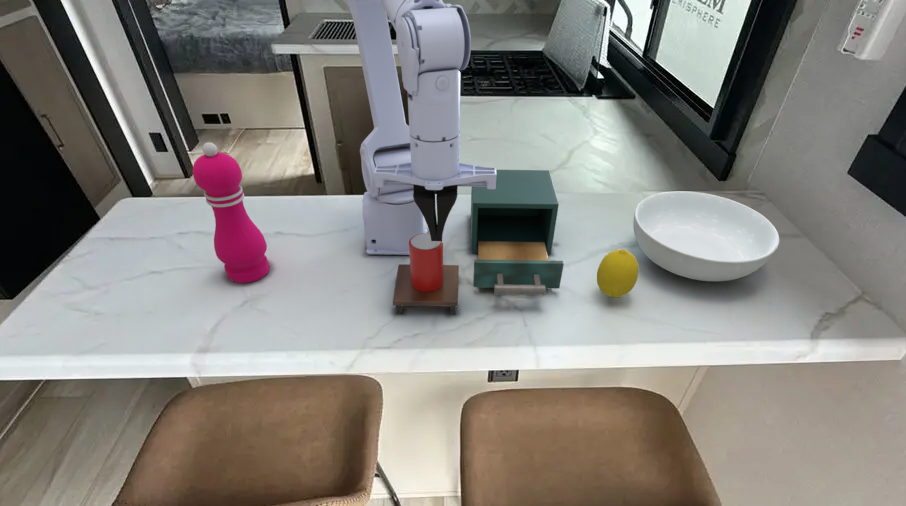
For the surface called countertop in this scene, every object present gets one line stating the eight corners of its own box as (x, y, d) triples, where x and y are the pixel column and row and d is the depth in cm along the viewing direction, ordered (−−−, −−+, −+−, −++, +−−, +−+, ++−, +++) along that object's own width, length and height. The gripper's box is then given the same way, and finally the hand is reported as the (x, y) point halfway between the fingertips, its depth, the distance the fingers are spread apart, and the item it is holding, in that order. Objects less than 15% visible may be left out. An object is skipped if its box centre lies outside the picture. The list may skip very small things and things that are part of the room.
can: (409, 291, 71) (407, 250, 67) (412, 272, 75) (410, 232, 70) (442, 292, 71) (442, 250, 67) (443, 273, 75) (443, 232, 70)
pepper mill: (282, 265, 80) (249, 137, 67) (250, 290, 75) (208, 158, 62) (246, 254, 83) (207, 128, 69) (213, 277, 78) (164, 147, 64)
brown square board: (393, 315, 72) (392, 301, 70) (399, 277, 78) (398, 264, 77) (457, 316, 71) (458, 302, 70) (458, 278, 78) (458, 264, 76)
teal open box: (471, 253, 83) (472, 203, 77) (470, 217, 92) (472, 169, 86) (550, 254, 83) (558, 204, 77) (542, 218, 92) (549, 170, 86)
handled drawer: (473, 304, 72) (474, 278, 69) (472, 244, 83) (473, 220, 81) (563, 305, 72) (568, 280, 69) (549, 245, 83) (553, 221, 80)
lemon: (632, 289, 76) (645, 243, 71) (628, 311, 72) (643, 264, 67) (594, 282, 78) (605, 236, 72) (589, 303, 74) (600, 256, 68)
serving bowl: (664, 308, 73) (679, 268, 69) (604, 233, 88) (612, 196, 84) (791, 290, 76) (813, 251, 72) (712, 221, 92) (726, 185, 87)
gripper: (365, 145, 55) (377, 252, 64) (500, 147, 55) (493, 254, 64) (374, 122, 60) (384, 224, 69) (497, 123, 60) (491, 226, 69)
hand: (436, 237), depth 67 cm, fingers closed
